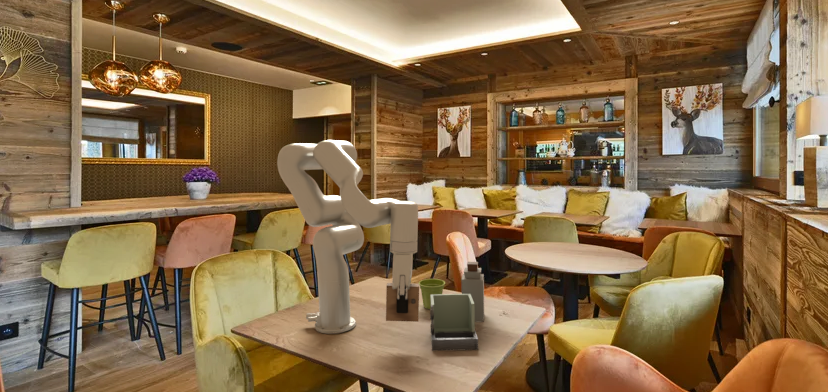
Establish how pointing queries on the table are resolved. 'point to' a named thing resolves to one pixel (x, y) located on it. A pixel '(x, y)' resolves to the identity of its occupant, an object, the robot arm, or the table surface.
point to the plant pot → (430, 290)
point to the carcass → (453, 312)
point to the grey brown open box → (452, 338)
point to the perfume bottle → (474, 288)
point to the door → (412, 304)
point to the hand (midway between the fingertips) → (402, 309)
